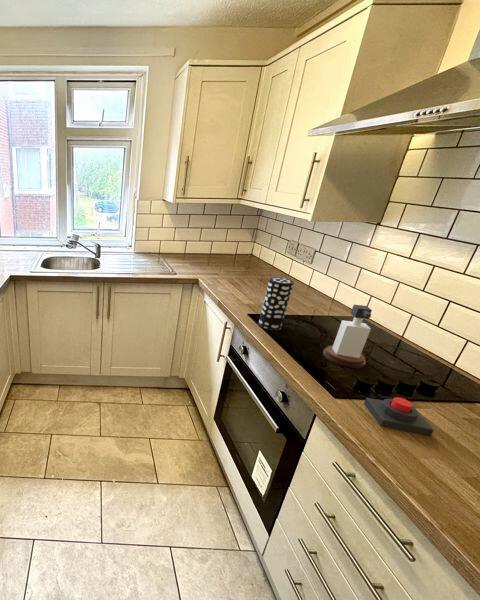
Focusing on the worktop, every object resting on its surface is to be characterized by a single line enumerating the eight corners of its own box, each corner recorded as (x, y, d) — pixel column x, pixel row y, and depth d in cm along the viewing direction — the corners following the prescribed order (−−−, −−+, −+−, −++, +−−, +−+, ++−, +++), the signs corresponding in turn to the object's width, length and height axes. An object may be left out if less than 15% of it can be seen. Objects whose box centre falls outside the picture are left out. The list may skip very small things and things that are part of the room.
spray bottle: (321, 344, 115) (337, 299, 108) (356, 350, 111) (375, 303, 104) (331, 359, 106) (349, 310, 99) (369, 366, 102) (390, 316, 95)
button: (404, 405, 82) (408, 398, 81) (413, 414, 79) (416, 408, 78) (387, 402, 83) (390, 395, 82) (395, 411, 80) (398, 404, 79)
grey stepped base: (408, 412, 85) (414, 400, 83) (430, 436, 77) (437, 424, 75) (363, 403, 88) (368, 392, 86) (380, 426, 80) (386, 414, 78)
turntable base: (355, 353, 112) (356, 350, 112) (371, 371, 102) (373, 368, 102) (317, 347, 116) (318, 344, 115) (329, 364, 106) (330, 361, 105)
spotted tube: (263, 319, 137) (274, 275, 130) (284, 326, 132) (297, 281, 124) (254, 324, 133) (265, 279, 125) (276, 332, 127) (289, 285, 119)
